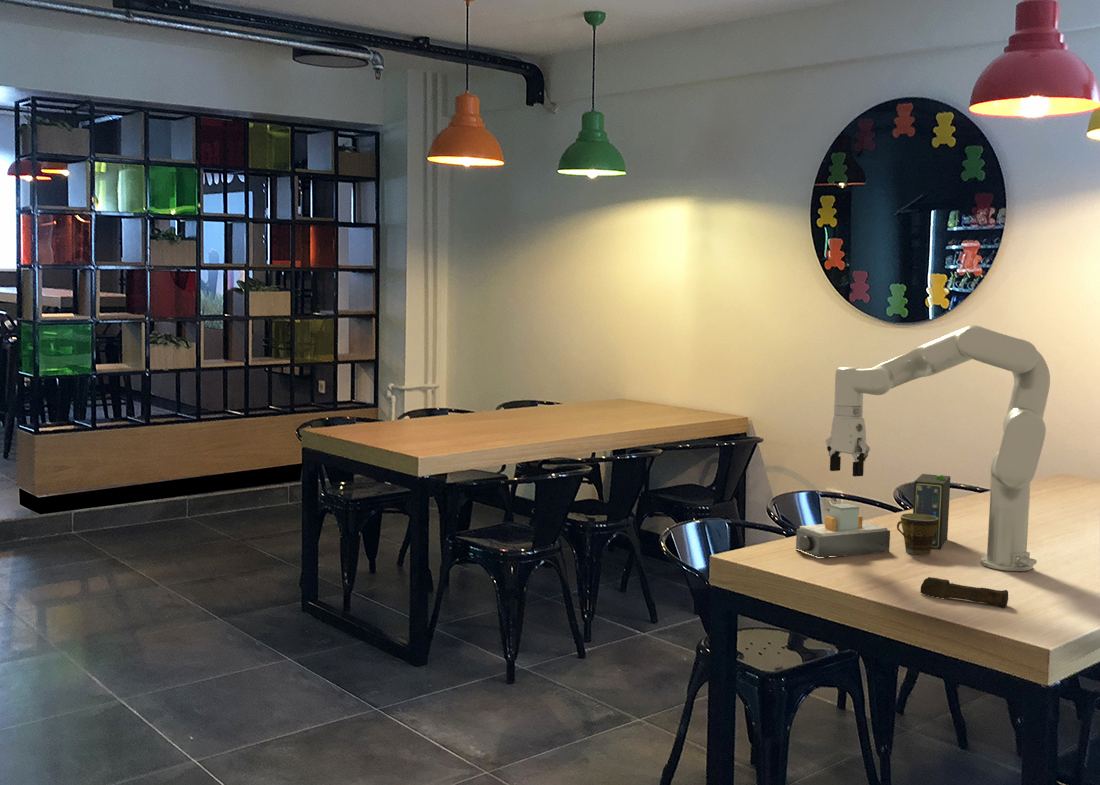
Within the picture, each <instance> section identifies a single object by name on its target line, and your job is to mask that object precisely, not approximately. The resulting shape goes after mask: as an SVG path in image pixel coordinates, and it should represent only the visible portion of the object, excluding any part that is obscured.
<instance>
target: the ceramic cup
mask: <svg viewBox="0 0 1100 785" xmlns="http://www.w3.org/2000/svg"><path fill="white" fill-rule="evenodd" d="M938 520H939V518H938V517H935V516H932V515H927V514H916V513H913V512H912V513H910V512H909V513H902V514H900V520H899V521H898V522H897V524H896V529H897V531H898V532H899V533H900V534H901V535H902V536H903V539H904V540H903V541H904V547H905V553H907V554H911V555H917V556H918V555H919V556H927V554H928V555H930V554H931V551H932V549H931V548H932V543H933V539H934V535H935V532H936V529H937V525H938ZM900 525H901V528H902V530H901V529H900Z"/></svg>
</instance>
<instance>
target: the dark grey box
mask: <svg viewBox="0 0 1100 785" xmlns="http://www.w3.org/2000/svg"><path fill="white" fill-rule="evenodd" d="M913 485H914V486H913V504H912V505H913V506H912V513H916V514H927V515H932V516H935V517H938V518H939V520H938V525H937V529H936V532H935V535H934V539H933V543H932V548H931V550H939V551H940V550H942V549H943V547H944V545H945V544H946V542H947V541H948V532H949V518H950V517H949V513H950V512H949V511H950V495H951V493H950V492H951V476H950V475H942V474H928V473H922V474H920V475H919V476H918V478H916V479H915V480H914V484H913Z"/></svg>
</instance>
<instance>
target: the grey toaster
mask: <svg viewBox="0 0 1100 785" xmlns="http://www.w3.org/2000/svg"><path fill="white" fill-rule="evenodd" d="M835 522H836V518H833V517H829V516H824V524H823V523H820V524H809V525H799V528H797V529H796V536H795V538H796V540H795V541H796V542H795V550H796V549H799V550H802V551H804V552H807V553H809V554H812V555H814V556H817V557H829V556H841V557H845V556H844V555H852V556H859V555H861V554H862V555H870V554H879V553H881V554H882V553H890V547H891V546H890V544H891V542H890V541H891V530H888V527H886V526H885V527H884V526H882V525H879V524H875V523H872V522H868V521H865V520H863V515H860V514H859V521H858V528H854V529H842V530H840V529H837V528H835ZM862 555H861V556H862Z"/></svg>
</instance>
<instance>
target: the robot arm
mask: <svg viewBox="0 0 1100 785" xmlns="http://www.w3.org/2000/svg"><path fill="white" fill-rule="evenodd" d="M972 360H974V361H977V362H980V363H983V364H986V365H990V366H992V367H996V368H998V369H1002V370H1005V371H1009V372H1011V373H1012V376H1013V386H1012V391H1011V396H1010V400H1009V404H1008V407H1007V411H1006V414H1005V416H1004V418H1003V422H1002V430H1003V436H1002V439H1001V443H1000V447H999V450H997V451H996V453H994V455H993V456H992V459H991V464H990V490H989V491H990V492H989V494H990V495H989V496H990V497H989V509H988V510H989V511H988V512H989V513H988V529H987V531H988V532H987V549H986V550H987V552H986V556H983V557H981V558H980V560H979V562H980V564H981V565H982V566H984V567H986V568H990V569H994V570H1000V571H1007V572H1028V571H1031V570H1032V569H1033V567H1034V566H1035V565H1037V563H1038V561H1037V559H1035V558H1031V556H1030V555H1031V552H1030V551H1028V535H1029V534H1028V533H1029V519H1030V518H1029V514H1030V513H1029V512H1030V503H1031V502H1030V500H1031V482H1032V481H1033V480H1034V477H1035V475H1036V471H1037V469H1038V465H1039V462H1040V457H1041V454H1042V450H1043V447H1044V443H1045V438H1046V434H1047V433H1046V430H1047V429H1046V423H1045V420H1044V413H1045V410H1046V407H1047V401H1048V397H1049V392H1050V387H1051V374H1050V370H1049V367H1048V364H1047V361H1046V360H1045V358H1044V356H1043V355H1042V354H1041V353H1040V351H1039V350H1038V349H1037V348H1036V346H1035V345H1034V344H1033V343H1031V342H1030V341H1028V340H1025V339H1022V338H1017V337H1014V336H1011V335H1007V334H1003V333H1001V332H997V331H994V330H990V328H989V329H988V328H985V327H982V326H980V325H977V324H976V325H974V324H973V325H967V326H965V327H963V328H960V329H957V330H955V331H953V332H951V333H948V334H945V335H944V336H941V337H939V338H936V339H934V340H931V341H929V342H927V343H924V344H922V345H919V346H918V347H915V348H914V349H912V350H910V351H908V352H906V353H905V354H901V355H899V356H896V357H895V358H892V359H890V360H888V361H885V362H881V363H880V364H877V365H875V366H873V367H871V368H860V367H857V366H841V367H838V368H836V370H835V374H834V375H835V376H834V403H833V404H834V406H833V408H834V409H833V417H832V422H831V430H830V437H828V438H827V439H826V440H825V444H826V446H827V447H826V450H827V452H828V456H829V471H830V472H839V471H840V470H841V461H842V460H841V458H842V457H841V456H840V454H841V453H842V454H848V455H851V456H852V458H853V461H852V476H853V477H856V478H857V477H863V476H864V467H865V466H864V464H865V462H866V459H867V458H868V455H869V452H870V450H871V448H870V446H869V445H868V444H867V432H866V431H867V430H866V423H865V418H864V417H863V413H864V411H863V407H864V406H863V405H864V394H867V395H871V396H872V395H873V396H882V395H886V394H887V393H888V392H889V391H890V390H892V389H895V388H897V387H898V386H901V385H904V384H906V383H909V382H911V381H914V380H917V379H920V378H924V377H925V378H926V377H932V376H934V375H937V374H939V373H942V372H945V371H946V370H949V369H952V368H955V367H956V366H959V365H961V364H964V363H966V362H969V361H972Z"/></svg>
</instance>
